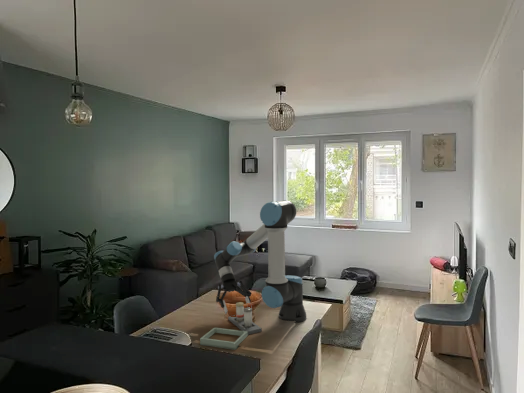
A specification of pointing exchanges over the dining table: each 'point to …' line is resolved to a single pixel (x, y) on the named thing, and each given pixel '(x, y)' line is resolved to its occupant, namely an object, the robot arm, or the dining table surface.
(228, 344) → the tray
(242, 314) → the marked fuse
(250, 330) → the fuse holder
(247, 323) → the plain fuse
